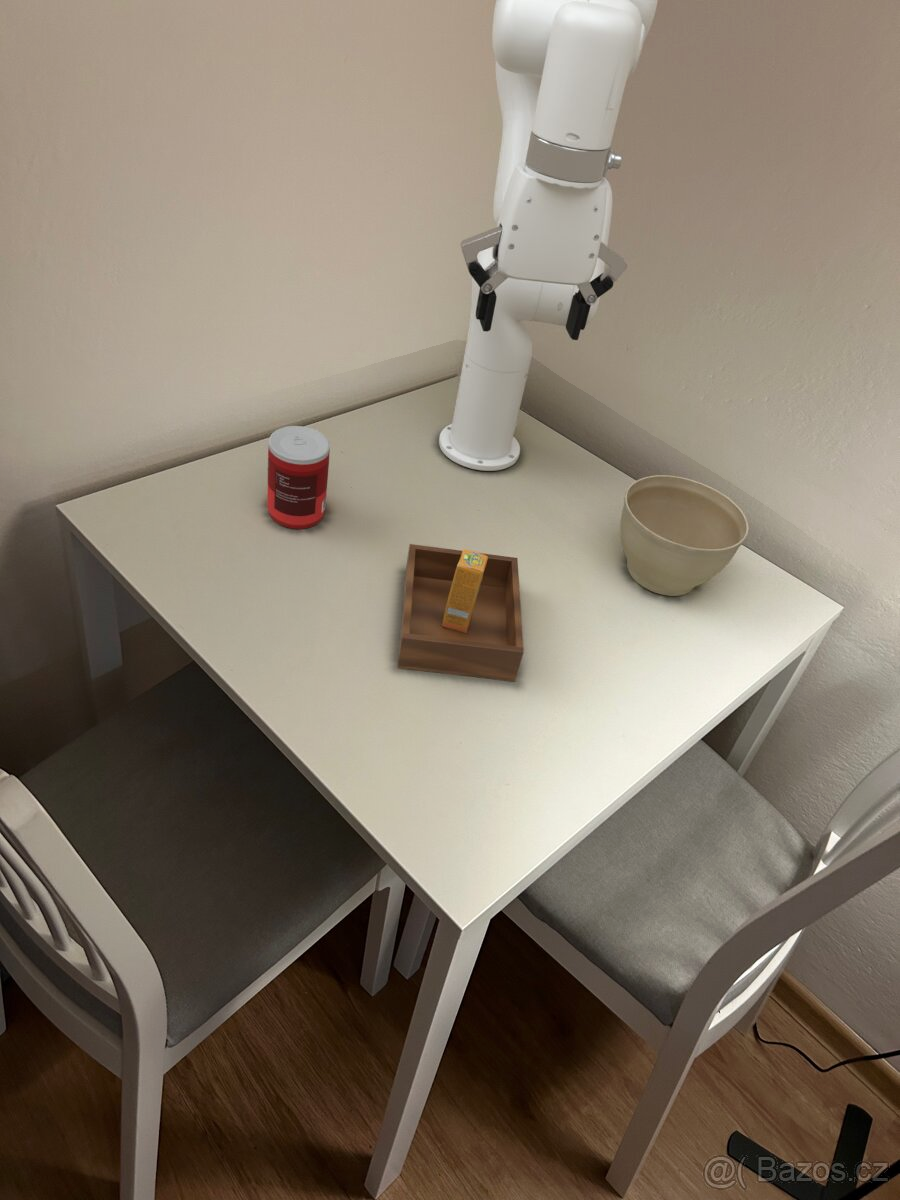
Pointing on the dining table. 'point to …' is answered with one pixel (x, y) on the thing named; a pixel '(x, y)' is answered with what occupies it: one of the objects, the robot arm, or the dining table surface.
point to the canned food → (297, 476)
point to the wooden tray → (492, 627)
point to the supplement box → (464, 591)
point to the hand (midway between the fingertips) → (528, 330)
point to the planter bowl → (678, 533)
